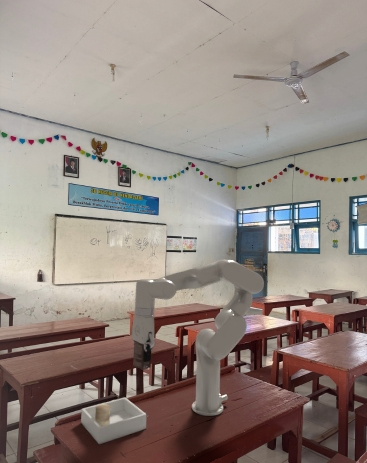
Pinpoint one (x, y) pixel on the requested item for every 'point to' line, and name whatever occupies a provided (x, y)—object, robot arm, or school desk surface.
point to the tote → (114, 420)
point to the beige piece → (102, 415)
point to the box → (140, 356)
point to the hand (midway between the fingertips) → (142, 358)
